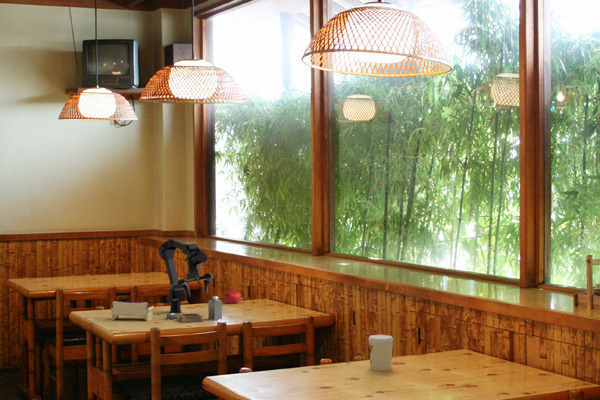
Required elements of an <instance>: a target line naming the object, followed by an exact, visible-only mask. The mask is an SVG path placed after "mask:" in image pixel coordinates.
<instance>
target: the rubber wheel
mask: <svg viewBox="0 0 600 400" xmlns="http://www.w3.org/2000/svg"><path fill="white" fill-rule="evenodd" d="M167 319H169V320H168V321H174V320H175V319H176V320H179V313H170V312H169V313H166V320H167Z"/></svg>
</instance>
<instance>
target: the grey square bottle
mask: <svg viewBox="0 0 600 400" xmlns="http://www.w3.org/2000/svg"><path fill="white" fill-rule="evenodd" d="M207 310H208V320H210V321H219V319H221V320H223V301H222V299H219V296H217V295H214V296H212V299H210V300H208V309H207Z"/></svg>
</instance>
